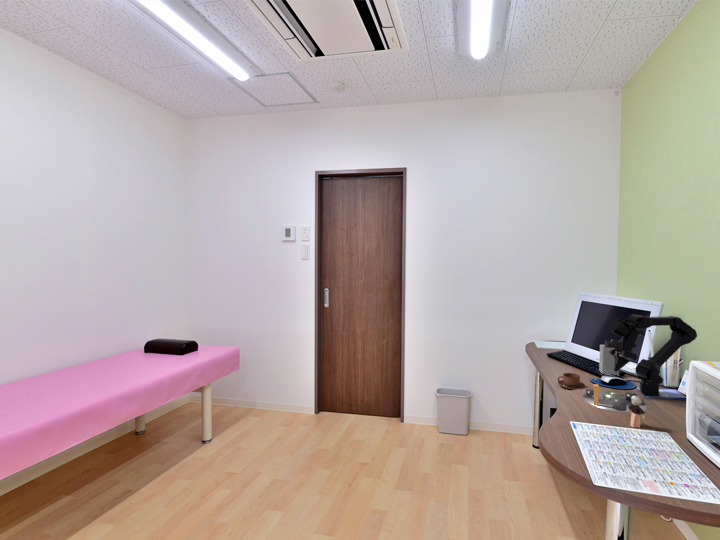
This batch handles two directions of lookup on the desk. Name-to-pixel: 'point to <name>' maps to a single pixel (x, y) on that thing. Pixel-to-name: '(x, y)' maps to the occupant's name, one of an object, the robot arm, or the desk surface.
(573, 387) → the cup and saucer
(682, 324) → the robot arm
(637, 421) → the grandmother figurine
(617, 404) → the grey and tan piece
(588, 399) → the levelling plate
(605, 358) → the skincare box
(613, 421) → the desk surface
